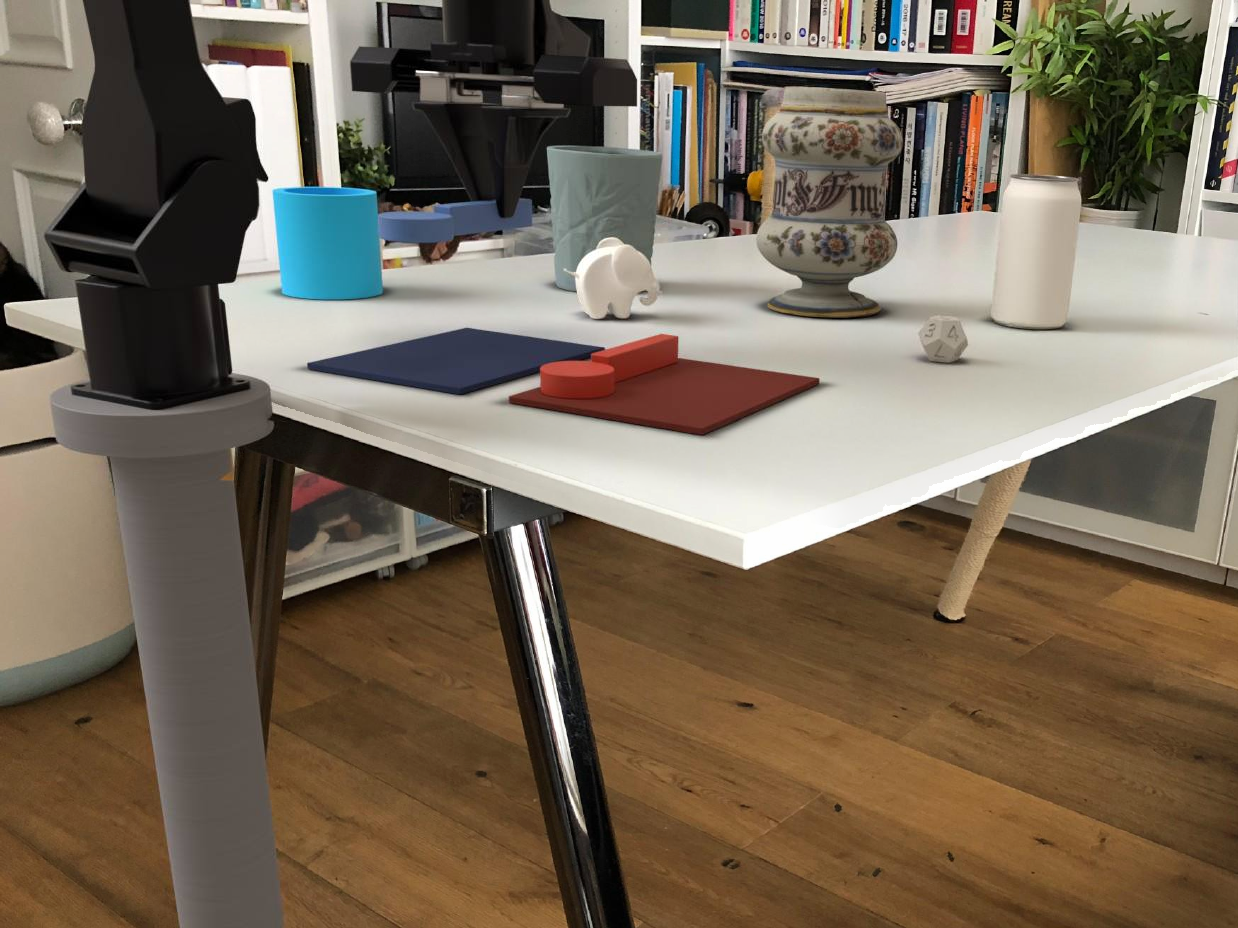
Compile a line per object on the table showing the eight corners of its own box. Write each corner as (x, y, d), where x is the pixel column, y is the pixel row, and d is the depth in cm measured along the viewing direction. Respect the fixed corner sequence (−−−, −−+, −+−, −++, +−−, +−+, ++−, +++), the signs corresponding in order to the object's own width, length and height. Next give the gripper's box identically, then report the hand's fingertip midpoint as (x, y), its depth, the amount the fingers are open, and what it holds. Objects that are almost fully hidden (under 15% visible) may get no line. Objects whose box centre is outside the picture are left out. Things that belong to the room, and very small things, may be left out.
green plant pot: (546, 277, 124) (543, 144, 119) (652, 278, 126) (653, 147, 122) (554, 294, 115) (551, 150, 110) (668, 295, 117) (670, 154, 113)
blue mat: (460, 394, 78) (460, 388, 78) (307, 369, 83) (306, 363, 83) (605, 353, 92) (605, 347, 92) (466, 333, 97) (466, 327, 96)
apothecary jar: (885, 301, 120) (900, 91, 113) (899, 323, 109) (916, 92, 102) (753, 295, 120) (761, 84, 113) (754, 317, 108) (762, 84, 102)
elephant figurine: (672, 323, 104) (673, 246, 102) (572, 324, 102) (571, 246, 99) (651, 308, 110) (651, 236, 108) (556, 309, 108) (555, 235, 105)
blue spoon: (421, 245, 78) (419, 213, 77) (363, 238, 79) (361, 207, 79) (551, 228, 89) (550, 201, 88) (498, 223, 91) (497, 196, 90)
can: (1072, 332, 109) (1091, 181, 105) (995, 328, 109) (1010, 177, 105) (1059, 319, 115) (1076, 176, 111) (985, 315, 115) (999, 172, 111)
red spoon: (588, 403, 76) (588, 372, 76) (525, 392, 78) (524, 362, 77) (698, 365, 88) (698, 338, 87) (641, 357, 89) (641, 330, 89)
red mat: (702, 435, 72) (702, 428, 72) (508, 402, 77) (508, 396, 77) (819, 384, 86) (819, 378, 86) (648, 359, 91) (648, 353, 91)
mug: (391, 298, 109) (385, 196, 106) (287, 300, 106) (278, 195, 103) (367, 277, 119) (360, 183, 116) (271, 279, 116) (262, 182, 113)
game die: (951, 354, 98) (955, 313, 96) (974, 364, 94) (979, 322, 93) (908, 355, 96) (912, 314, 95) (930, 365, 93) (934, 323, 92)
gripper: (682, -29, 85) (678, 220, 90) (450, -33, 92) (460, 199, 97) (586, -47, 75) (588, 233, 81) (335, -50, 82) (354, 208, 88)
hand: (496, 216), depth 87 cm, fingers closed on blue spoon, 1 cm apart
